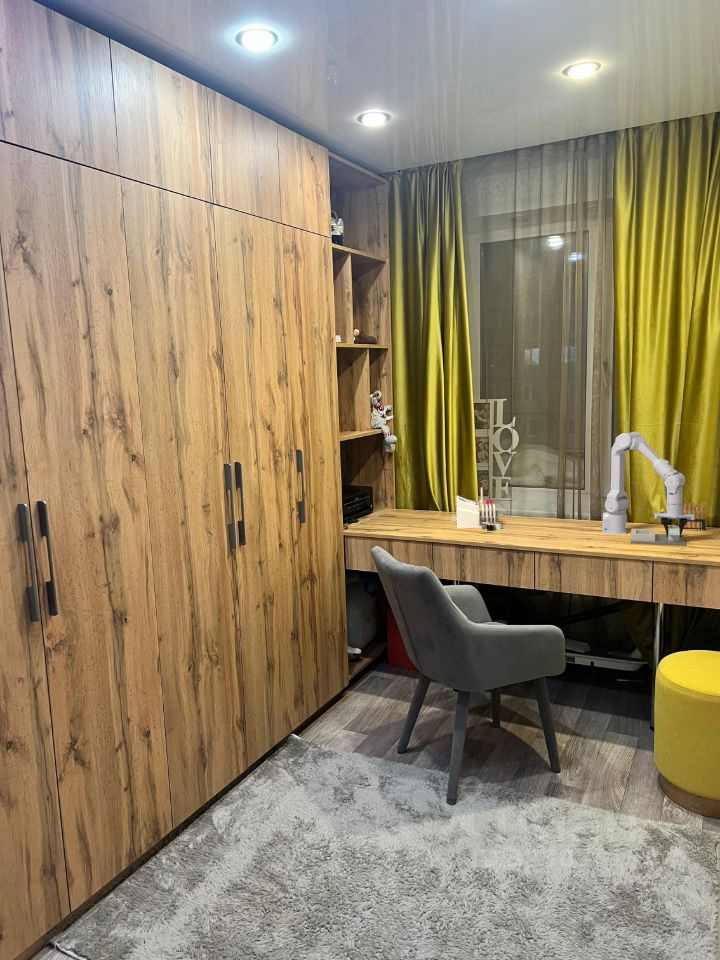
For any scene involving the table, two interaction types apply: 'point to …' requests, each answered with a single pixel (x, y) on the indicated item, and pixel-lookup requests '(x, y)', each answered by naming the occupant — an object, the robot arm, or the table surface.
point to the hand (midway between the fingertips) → (673, 536)
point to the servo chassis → (653, 538)
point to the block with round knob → (673, 533)
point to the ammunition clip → (697, 522)
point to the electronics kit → (476, 514)
